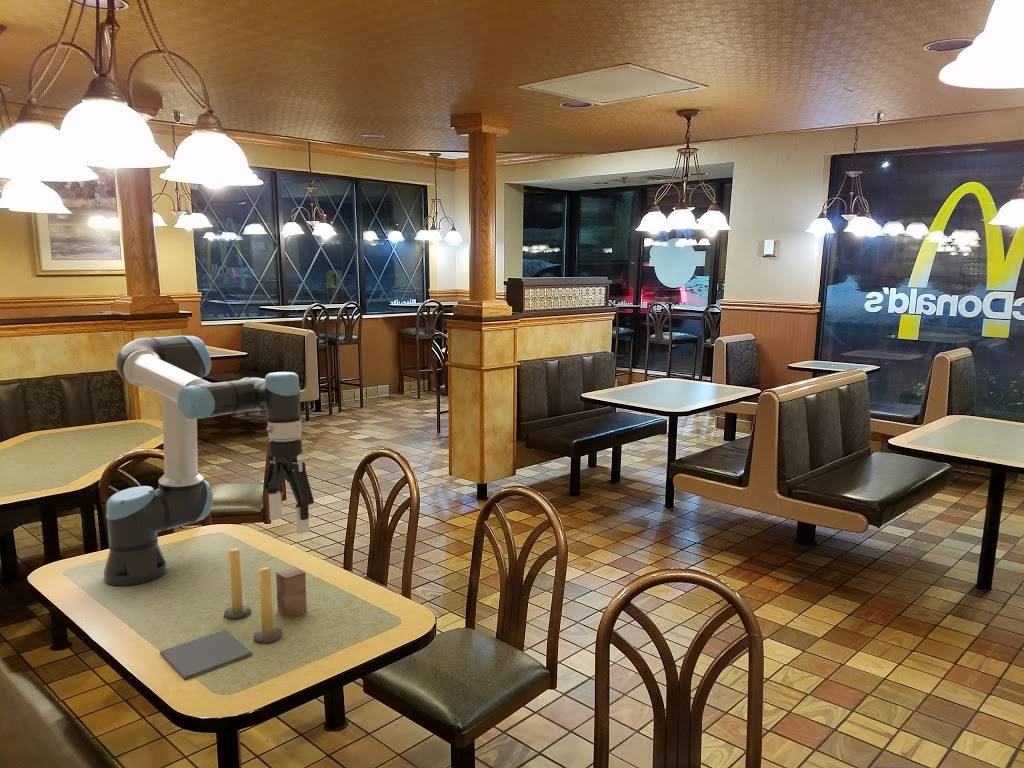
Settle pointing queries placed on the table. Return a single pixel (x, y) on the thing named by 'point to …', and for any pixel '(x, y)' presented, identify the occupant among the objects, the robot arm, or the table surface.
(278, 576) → the block
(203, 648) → the mat
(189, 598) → the table surface
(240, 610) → the gate
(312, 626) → the table surface
